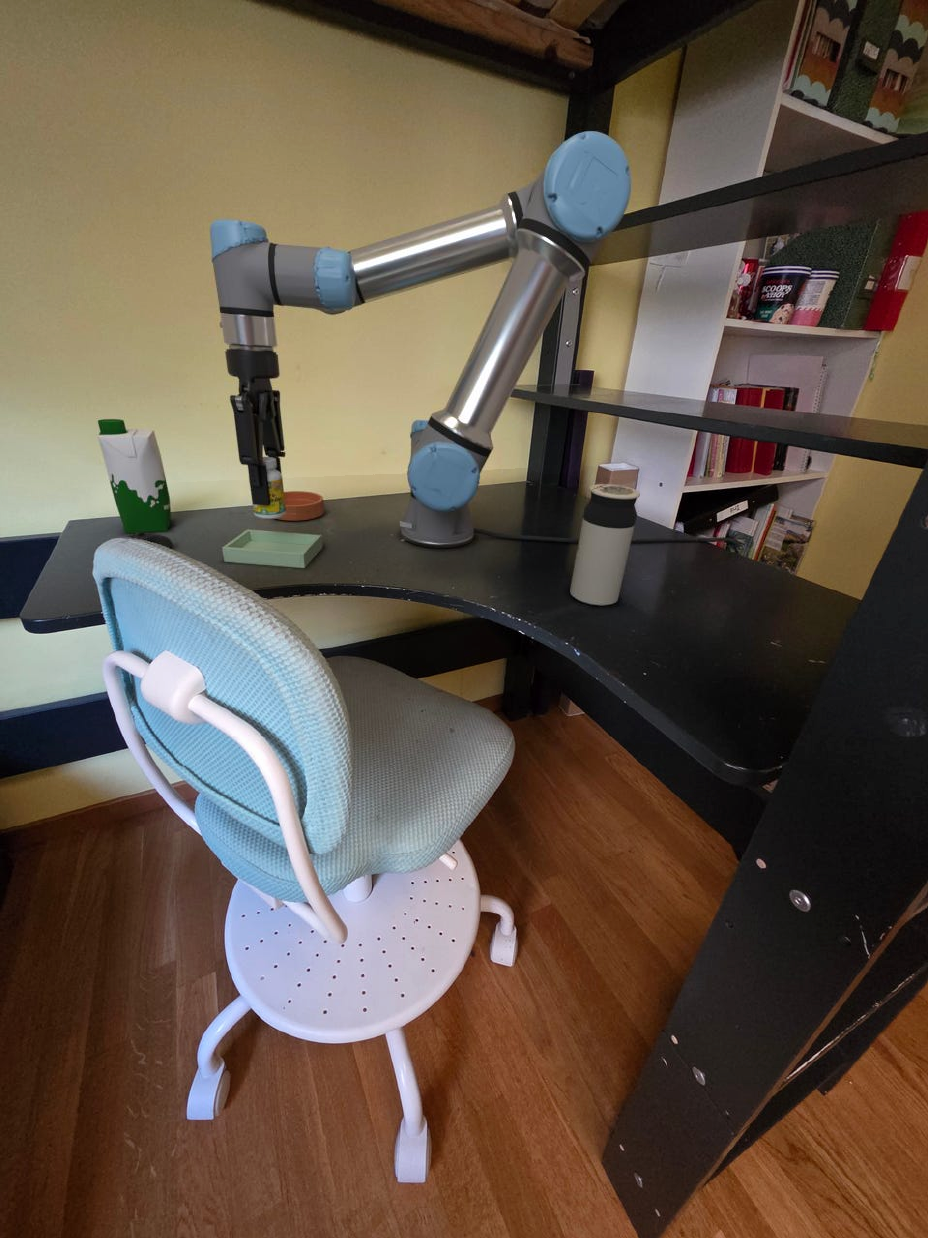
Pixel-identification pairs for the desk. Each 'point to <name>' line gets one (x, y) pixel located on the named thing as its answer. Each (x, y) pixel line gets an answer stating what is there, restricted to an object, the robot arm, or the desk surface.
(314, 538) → the tray
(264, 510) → the supplement bottle
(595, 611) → the desk surface
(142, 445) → the milk carton
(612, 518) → the travel mug
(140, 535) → the game controller
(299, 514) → the bowl
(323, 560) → the desk surface
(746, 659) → the desk surface
